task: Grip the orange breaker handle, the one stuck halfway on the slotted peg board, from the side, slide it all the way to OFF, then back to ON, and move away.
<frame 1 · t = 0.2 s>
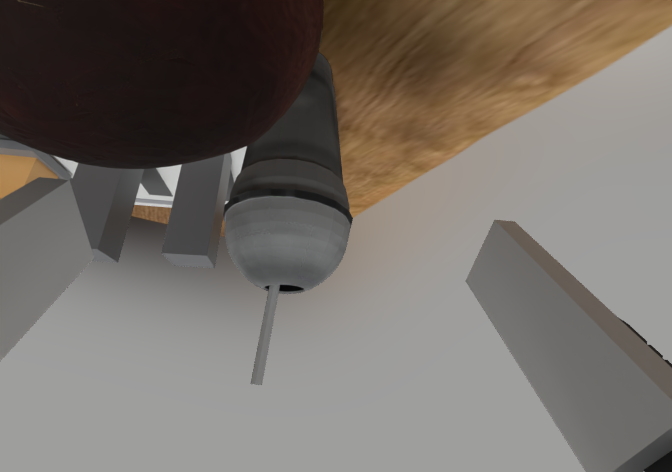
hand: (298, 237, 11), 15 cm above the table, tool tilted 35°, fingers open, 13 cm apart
beverage cup: (300, 72, 23), on the table
breaker handle: (10, 208, 27), point 7 cm above the table, slide at 4.0 cm
slotted peg board: (124, 146, 31), on the table
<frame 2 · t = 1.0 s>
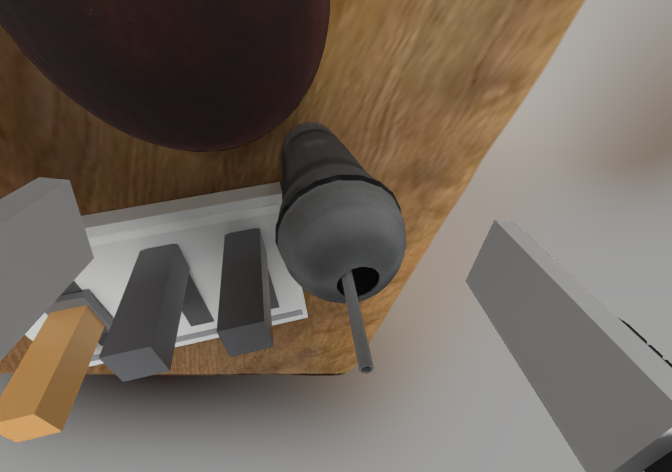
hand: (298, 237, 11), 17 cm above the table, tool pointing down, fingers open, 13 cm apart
beverage cup: (309, 148, 27), on the table
breaker handle: (57, 361, 26), point 7 cm above the table, slide at 4.0 cm
slotted peg board: (165, 278, 32), on the table
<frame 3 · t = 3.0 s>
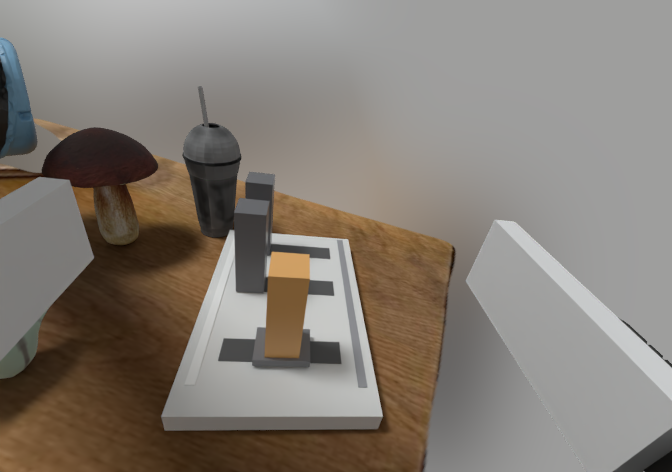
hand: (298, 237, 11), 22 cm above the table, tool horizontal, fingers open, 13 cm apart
beverage cup: (217, 230, 49), on the table
breaker handle: (285, 311, 27), point 7 cm above the table, slide at 4.0 cm
decorative mushroom: (122, 243, 43), on the table
green toy bird: (16, 370, 27), on the table
slotted peg board: (284, 310, 37), on the table
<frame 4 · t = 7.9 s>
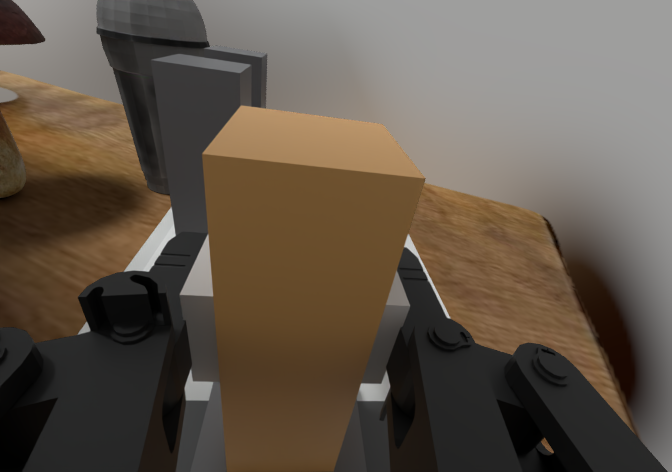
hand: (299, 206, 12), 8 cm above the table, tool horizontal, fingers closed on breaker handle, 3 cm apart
beverage cup: (175, 185, 30), on the table
breaker handle: (294, 331, 8), point 7 cm above the table, slide at 4.0 cm, touching gripper
slotted peg board: (287, 320, 18), on the table
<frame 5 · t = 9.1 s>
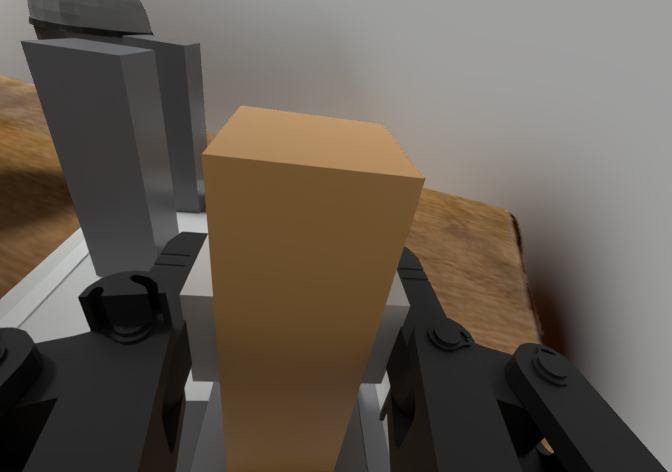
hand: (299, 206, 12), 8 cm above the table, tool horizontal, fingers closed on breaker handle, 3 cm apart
beverage cup: (129, 181, 29), on the table
breaker handle: (294, 331, 8), point 7 cm above the table, slide at 8.0 cm, touching gripper
slotted peg board: (213, 318, 17), on the table
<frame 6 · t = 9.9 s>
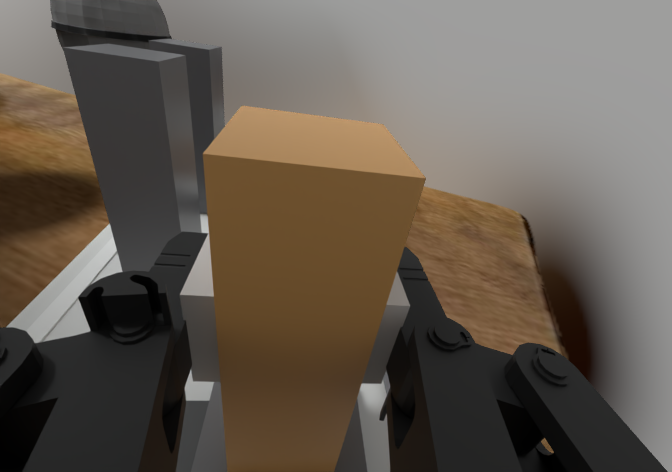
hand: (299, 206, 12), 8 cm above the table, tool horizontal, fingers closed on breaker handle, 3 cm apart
beverage cup: (144, 183, 29), on the table
breaker handle: (294, 331, 8), point 7 cm above the table, slide at 6.8 cm, touching gripper
slotted peg board: (236, 319, 18), on the table
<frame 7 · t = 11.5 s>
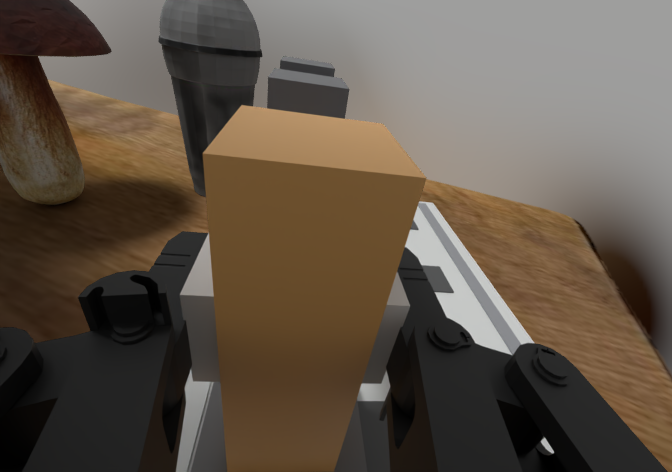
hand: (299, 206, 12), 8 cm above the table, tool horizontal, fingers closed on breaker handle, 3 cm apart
beverage cup: (220, 189, 30), on the table
breaker handle: (294, 331, 8), point 7 cm above the table, slide at 0.0 cm, touching gripper
decorative mushroom: (56, 203, 25), on the table
slotted peg board: (357, 323, 18), on the table
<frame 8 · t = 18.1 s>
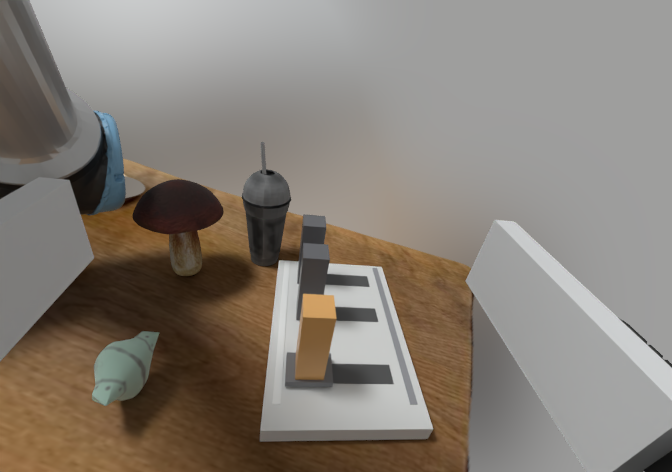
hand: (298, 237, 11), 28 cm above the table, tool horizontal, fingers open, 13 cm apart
beverage cup: (264, 258, 55), on the table
breaker handle: (313, 341, 33), point 7 cm above the table, slide at 0.0 cm
decorative mushroom: (187, 273, 49), on the table
green toy bird: (131, 392, 33), on the table
slotted peg board: (336, 335, 43), on the table
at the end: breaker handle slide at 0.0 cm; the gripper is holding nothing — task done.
